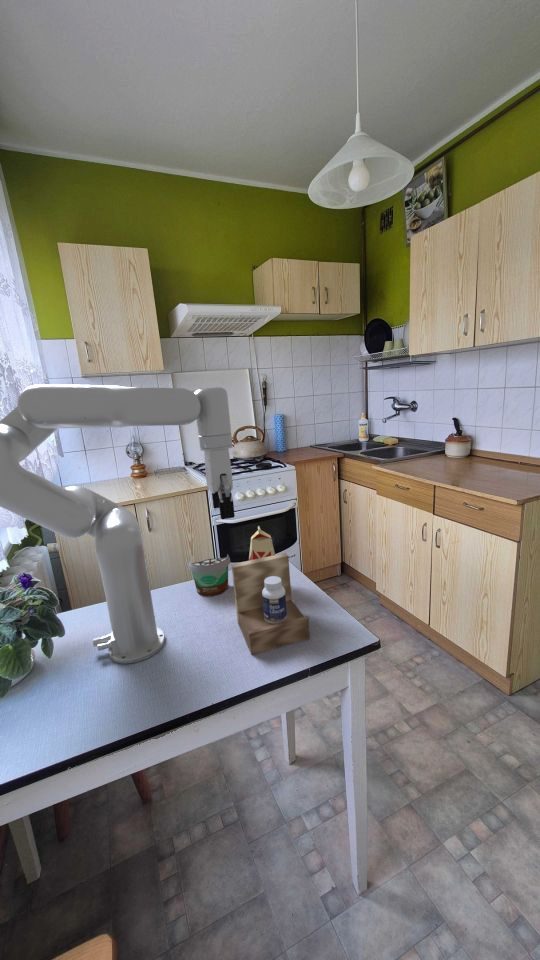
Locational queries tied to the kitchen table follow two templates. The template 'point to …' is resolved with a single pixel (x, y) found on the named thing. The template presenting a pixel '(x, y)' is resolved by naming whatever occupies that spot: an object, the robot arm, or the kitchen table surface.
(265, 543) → the milk carton
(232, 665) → the kitchen table surface
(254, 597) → the cardboard holder
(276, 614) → the pill bottle
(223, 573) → the food container
